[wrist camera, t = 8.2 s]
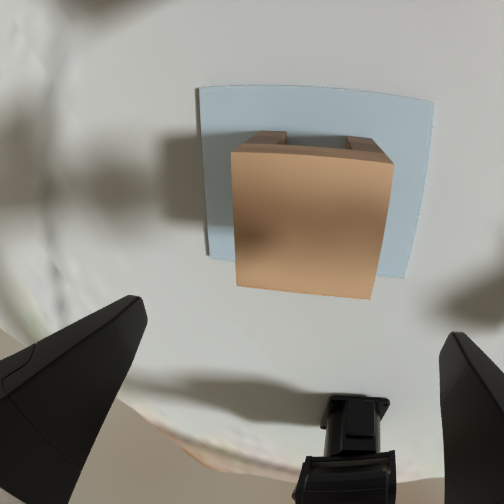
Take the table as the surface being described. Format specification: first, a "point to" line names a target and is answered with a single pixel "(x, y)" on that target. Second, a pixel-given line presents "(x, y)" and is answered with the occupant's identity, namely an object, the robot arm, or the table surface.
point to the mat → (317, 135)
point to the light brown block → (309, 215)
